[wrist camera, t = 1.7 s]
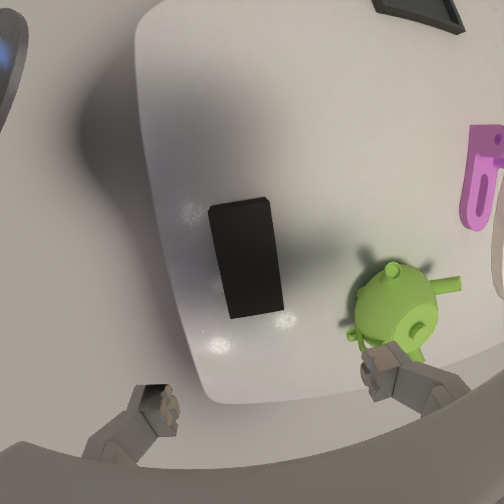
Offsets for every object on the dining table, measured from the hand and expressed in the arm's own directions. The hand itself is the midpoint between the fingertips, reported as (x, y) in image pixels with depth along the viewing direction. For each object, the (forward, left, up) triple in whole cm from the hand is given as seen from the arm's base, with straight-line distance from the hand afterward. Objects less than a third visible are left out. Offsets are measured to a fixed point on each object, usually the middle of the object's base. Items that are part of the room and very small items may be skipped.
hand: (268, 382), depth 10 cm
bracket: (+24, +19, -17) cm, 35 cm away
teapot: (+17, +1, -17) cm, 24 cm away
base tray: (+7, +38, -17) cm, 42 cm away
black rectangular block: (0, 0, -17) cm, 17 cm away
